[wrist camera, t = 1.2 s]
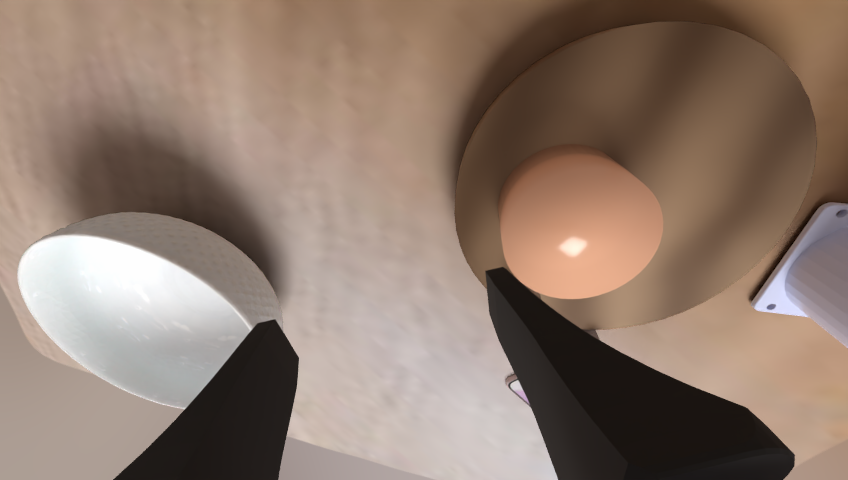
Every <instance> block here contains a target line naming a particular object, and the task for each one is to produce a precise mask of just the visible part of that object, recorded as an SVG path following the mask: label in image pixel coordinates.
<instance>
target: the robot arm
mask: <svg viewBox="0 0 848 480" xmlns="http://www.w3.org/2000/svg"><path fill="white" fill-rule="evenodd" d="M840 210H841V211H840ZM838 211H840V212H839V213H837V212H838ZM836 213H837V214H836ZM485 274H486V283H487V293H488V303H489V312H490V316H491V319H492V322H493V325H494V328H495V331H496V333H497V336H498V339H499V341H500V343H501V346H502V348H503V350H504V352H505V354H506V356H507V358H508V360H509V362H510V364H511V366H512V368H513V370H514V372H515V375H516V377H517V379H518V381H519V383H520V385H521V387H522V389H523V391H524V393H525V395H526V397H527V399H528V401H529V404H530V406H531V408H532V411H533V413H534V415H535V418H536V421H537V423H538V426H539V429H540V431H541V434H542V436H543V439H544V442H545V444H546V447H547V450H548V453H549V455H550V458H551V461H552V464H553V466H554V469H555V472H556V474H557V477H558V480H783V479H784V478H785V477H786V476H787V475H788V474H789V473H790V471H791V470H792V468H793V467H794V461H795V455H794V454H793V453H792V452H791V451H790V449H789V448H788V447H787V446H786V445H785V444H784V443H783V442H782V441H781V440H780V439H779V438H778V437H777V436H776V435H775V434H774V433H773V432H772V431H771V430H770V429H769V428H768V427H767V426H766V425H765V424H764V423H763V422H762V421H761V420H760V419H759V418H757V417H756V416H755V415H754V414H753V413H752V412H751V411H750V410H749V409H747V408H746V407H743V406H741V405H738V404H736V403H733V402H731V401H728V400H725V399H723V398H720V397H718V396H715V395H713V394H710V393H708V392H705V391H702V390H700V389H697V388H695V387H692V386H690V385H688V384H685V383H683V382H681V381H679V380H676V379H674V378H672V377H670V376H667V375H665V374H663V373H661V372H659V371H657V370H654V369H652V368H650V367H648V366H646V365H644V364H643V363H641V362H639V361H637V360H635V359H633V358H631V357H629V356H627V355H625V354H623V353H621V352H619V351H617V350H616V349H614V348H612V347H610V346H609V345H607V344H605V343H603V342H602V341H600V340H598V339H597V338H595V337H593V336H592V335H590V334H589V333H587V332H585V331H584V330H582V329H581V328H579V327H578V326H576V325H575V324H573V323H572V322H571V321H569V320H568V319H566V318H565V317H563V316H562V315H561V314H559V313H558V312H557V311H555V310H554V309H553V308H551V307H550V306H549V305H547V304H546V303H545V302H544V301H542V300H541V299H540V298H539V297H537V296H536V295H535V294H534V293H533V292H531V291H530V290H529V289H528V288H527V287H526V286H524V285H523V284H522V283H521V282H520V281H519V280H518V279H516V278H515V277H514V276H513V275H512V274H511V273H510V272H509V271H508V270H507V269H506V268H504V267H499V268H495V269H491V270H486V271H485ZM751 306H752V307H753V308H754V309H755V310H757V311H763V312H771V313H780V314H788V315H796V316H804V317H810V318H811V319H812V320H814V321H815V322H816V323H817V324H819V325H820V326H821V327H822V328H823V329H825V330H826V331H827V332H828V333H830V334H831V335H832V336H833V337H835V338H836V339H837V340H838V341H840V342H841V343H842V344H843V345H844V346H846V347H847V348H848V204H846V203H835V202H828V203H825V204H823V205H822V206H820V207H819V208H818V209H817V211H816V212H815V213H814V215H813V216H812V218H811V219H810V220H809V222H808V223H807V225H806V226H805V227H804V229H803V230H802V232H801V233H800V234H799V236H798V237H797V239H796V240H795V242H794V243H793V244H792V246H791V247H790V249H789V250H788V251H787V253H786V254H785V256H784V257H783V258H782V260H781V261H780V263H779V264H778V265H777V267H776V268H775V270H774V271H773V273H772V274H771V275H770V277H769V278H768V280H767V281H766V282H765V284H764V285H763V287H762V288H761V289H760V291H759V292H758V294H757V295H756V296H755V298H754V299H753V301H752V302H751ZM298 364H299V357H298V356H297V354H296V352H295V351H294V349H293V347H292V346H291V344H290V342H289V341H288V339H287V337H286V336H285V334H284V333H283V331H282V329H281V328H280V326H279V324H278V323H277V321H276V319H274V320H269V321H265V322H260V323H257V324H256V325H255V327H254V328H253V329H252V330H251V331H250V332H249V334H248V335H247V336H246V337H245V339H244V340H243V341H242V342H241V343H240V345H239V346H238V347H237V348H236V350H235V351H234V352H233V353H232V355H231V356H230V357H229V358H228V360H227V361H226V362H225V363H224V364H223V366H222V367H221V368H220V369H219V371H218V372H217V373H216V374H215V375H214V377H213V378H212V379H211V380H210V381H209V383H208V384H207V385H206V386H205V387H204V388H203V389H202V391H201V392H200V393H199V394H198V395H197V396H196V397H195V399H194V400H193V401H192V402H191V403H190V404H189V405H188V407H187V408H186V409H185V410H184V411H183V412H182V413H181V414H180V415H179V416H178V418H177V419H176V420H175V421H174V422H173V423H172V424H171V425H170V426H169V427H168V428H167V429H166V430H165V431H164V432H163V433H162V434H161V435H160V436H159V437H158V438H157V439H156V440H155V441H154V442H153V443H152V444H151V445H150V446H149V447H148V448H147V449H146V450H145V451H144V452H143V453H142V454H141V455H140V456H139V457H138V458H136V459H135V460H134V461H133V462H132V463H131V464H130V465H129V466H128V467H127V468H126V469H124V470H123V471H122V472H121V473H120V474H119V475H118V476H117V477H116V478H115V479H113V480H278V477H279V471H280V465H281V459H282V454H283V450H284V445H285V440H286V436H287V431H288V426H289V422H290V417H291V413H292V408H293V403H294V398H295V393H296V388H297V378H298Z"/></svg>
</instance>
